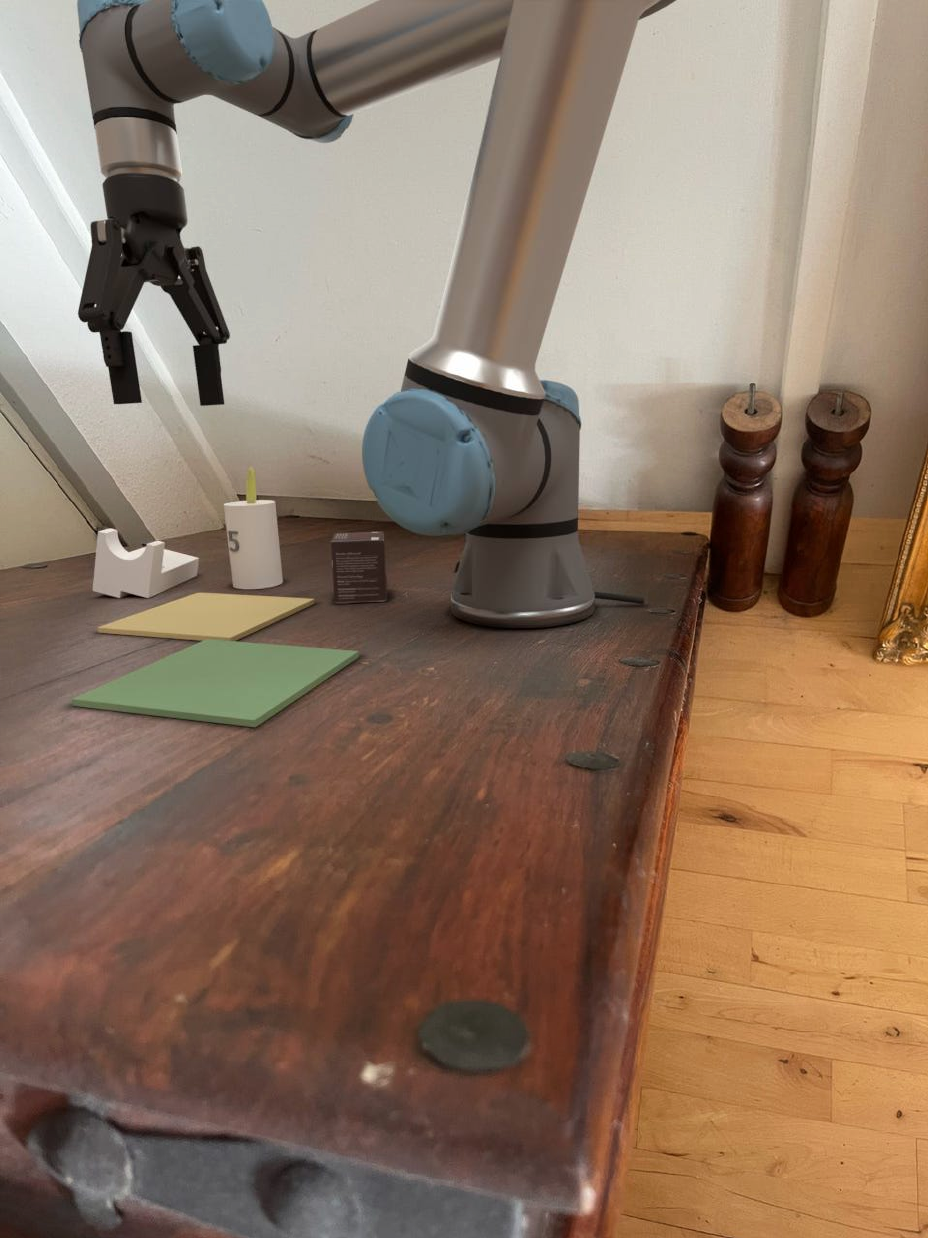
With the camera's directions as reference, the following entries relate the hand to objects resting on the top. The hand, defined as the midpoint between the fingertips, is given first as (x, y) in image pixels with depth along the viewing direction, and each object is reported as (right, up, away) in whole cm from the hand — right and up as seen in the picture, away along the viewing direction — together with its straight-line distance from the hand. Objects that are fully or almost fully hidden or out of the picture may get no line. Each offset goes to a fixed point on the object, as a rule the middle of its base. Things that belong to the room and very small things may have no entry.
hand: (173, 404), depth 79 cm
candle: (+4, -18, +18) cm, 26 cm away
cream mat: (+4, -23, +2) cm, 23 cm away
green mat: (+11, -28, -18) cm, 35 cm away
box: (+19, -20, +9) cm, 29 cm away
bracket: (-10, -19, +18) cm, 28 cm away
